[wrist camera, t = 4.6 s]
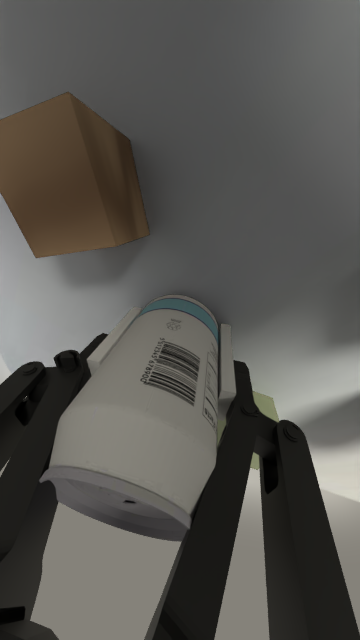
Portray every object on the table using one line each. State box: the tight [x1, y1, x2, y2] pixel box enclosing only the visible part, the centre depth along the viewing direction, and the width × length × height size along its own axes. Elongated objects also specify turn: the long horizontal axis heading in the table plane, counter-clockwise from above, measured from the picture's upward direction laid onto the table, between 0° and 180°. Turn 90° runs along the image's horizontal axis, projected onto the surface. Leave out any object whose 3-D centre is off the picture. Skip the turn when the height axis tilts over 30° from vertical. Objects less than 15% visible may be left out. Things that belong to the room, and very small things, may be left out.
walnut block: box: [0, 92, 150, 258], centre depth 10 cm, size 5×5×5 cm
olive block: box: [217, 391, 279, 470], centre depth 18 cm, size 5×5×5 cm
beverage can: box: [39, 295, 219, 541], centre depth 11 cm, size 7×7×12 cm
